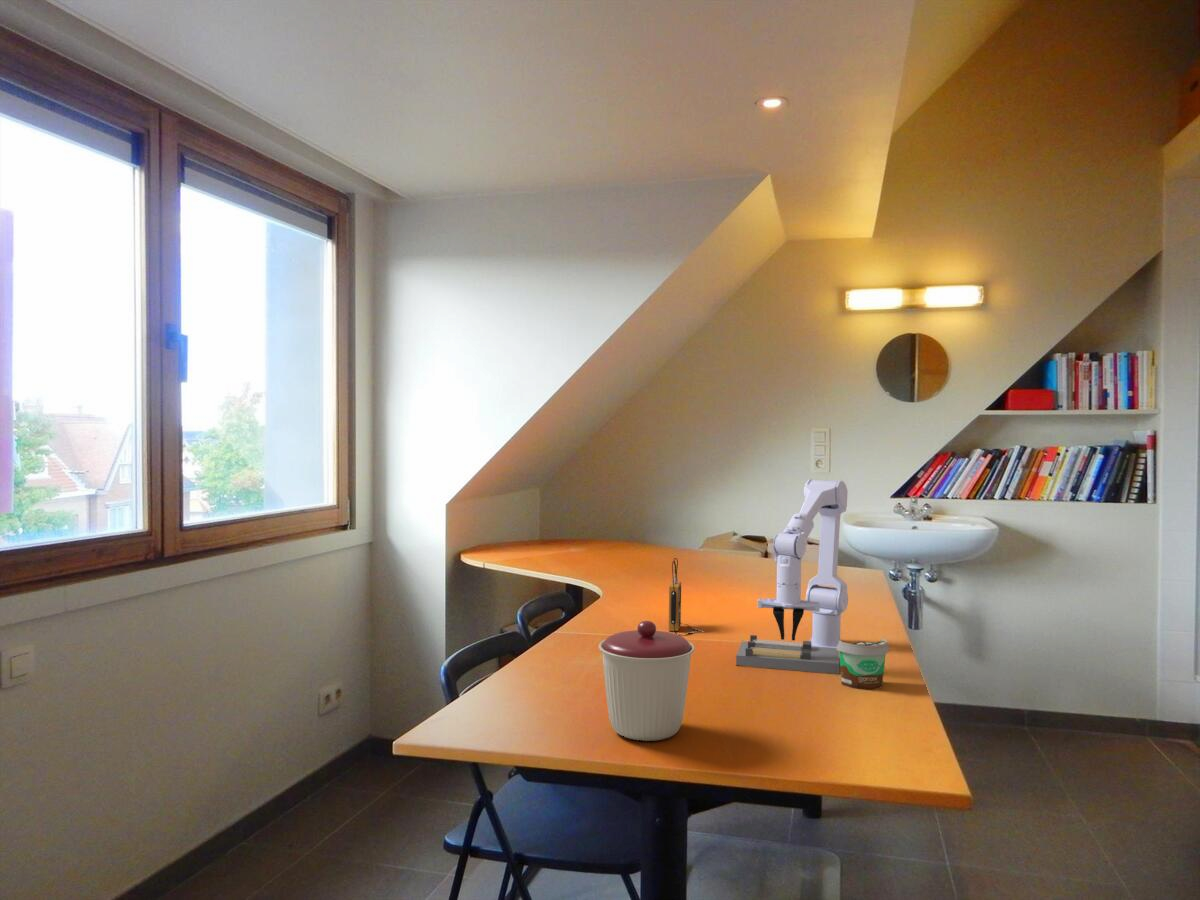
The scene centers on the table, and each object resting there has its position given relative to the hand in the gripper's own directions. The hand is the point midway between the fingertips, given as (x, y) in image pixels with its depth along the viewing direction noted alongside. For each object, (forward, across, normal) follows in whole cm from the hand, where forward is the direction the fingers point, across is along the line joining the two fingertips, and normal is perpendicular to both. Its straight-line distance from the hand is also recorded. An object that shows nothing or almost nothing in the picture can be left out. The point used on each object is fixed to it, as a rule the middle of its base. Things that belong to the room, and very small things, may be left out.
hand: (788, 639), depth 204 cm
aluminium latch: (+4, -3, +8) cm, 9 cm away
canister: (+7, -24, -52) cm, 58 cm away
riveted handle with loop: (+7, -29, +29) cm, 42 cm away
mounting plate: (+7, 0, +4) cm, 8 cm away
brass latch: (+4, -3, 0) cm, 5 cm away
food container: (+7, +18, -11) cm, 22 cm away
